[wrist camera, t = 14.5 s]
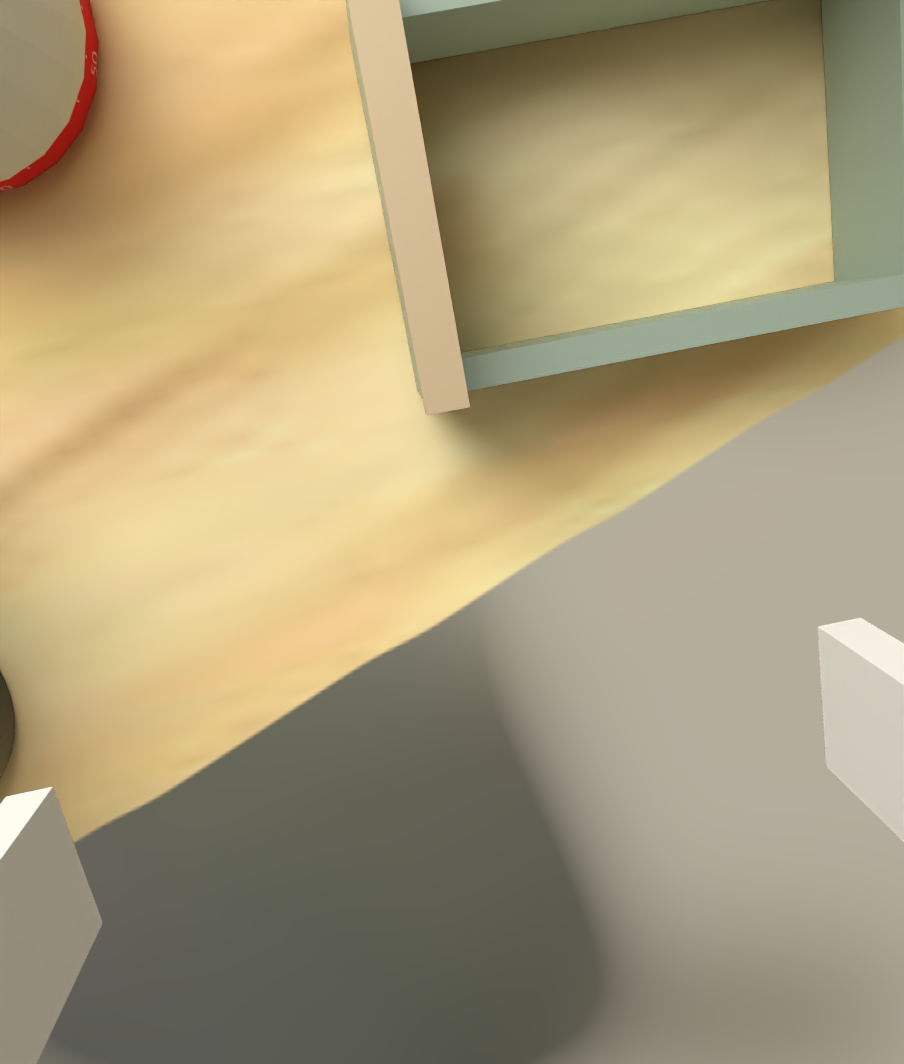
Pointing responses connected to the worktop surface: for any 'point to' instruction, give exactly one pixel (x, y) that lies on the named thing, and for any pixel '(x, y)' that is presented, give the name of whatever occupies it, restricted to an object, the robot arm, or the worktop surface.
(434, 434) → the worktop surface
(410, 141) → the green drawer
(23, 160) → the kitchen timer
